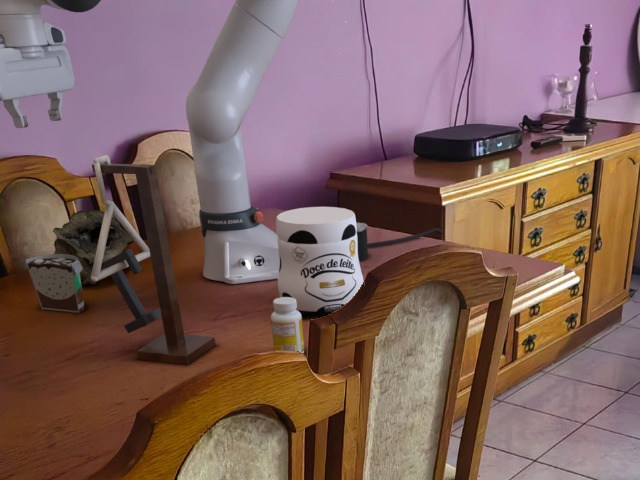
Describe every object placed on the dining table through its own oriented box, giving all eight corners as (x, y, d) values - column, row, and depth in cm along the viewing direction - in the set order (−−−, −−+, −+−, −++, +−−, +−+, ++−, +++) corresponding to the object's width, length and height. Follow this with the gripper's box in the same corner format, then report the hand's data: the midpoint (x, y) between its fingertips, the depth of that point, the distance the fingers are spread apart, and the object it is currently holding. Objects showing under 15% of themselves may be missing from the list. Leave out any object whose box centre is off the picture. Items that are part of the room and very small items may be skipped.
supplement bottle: (289, 361, 146) (283, 307, 141) (268, 354, 149) (262, 301, 144) (311, 352, 150) (306, 299, 144) (290, 346, 153) (285, 293, 147)
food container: (103, 304, 176) (93, 255, 170) (85, 313, 171) (73, 263, 166) (55, 299, 179) (43, 251, 174) (35, 308, 175) (22, 259, 169)
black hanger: (128, 333, 149) (90, 268, 145) (143, 324, 153) (107, 260, 149) (157, 320, 146) (119, 253, 141) (172, 311, 150) (136, 245, 145)
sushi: (364, 262, 199) (362, 227, 195) (330, 261, 200) (328, 226, 196) (371, 253, 206) (370, 219, 201) (338, 252, 207) (336, 218, 202)
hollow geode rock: (122, 277, 209) (73, 231, 205) (151, 240, 204) (101, 193, 199) (70, 309, 186) (13, 258, 181) (101, 269, 180) (43, 215, 176)
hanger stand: (104, 364, 147) (58, 165, 129) (158, 332, 161) (123, 147, 143) (176, 372, 143) (139, 168, 125) (225, 338, 157) (198, 150, 139)
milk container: (332, 326, 161) (325, 229, 151) (262, 312, 169) (251, 219, 159) (381, 301, 173) (378, 210, 163) (314, 290, 181) (307, 202, 171)
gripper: (-10, 37, 134) (14, 132, 142) (71, 31, 150) (88, 117, 158) (-42, 37, 136) (-16, 131, 143) (42, 31, 152) (60, 116, 159)
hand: (39, 124), depth 151 cm, fingers open, 8 cm apart
